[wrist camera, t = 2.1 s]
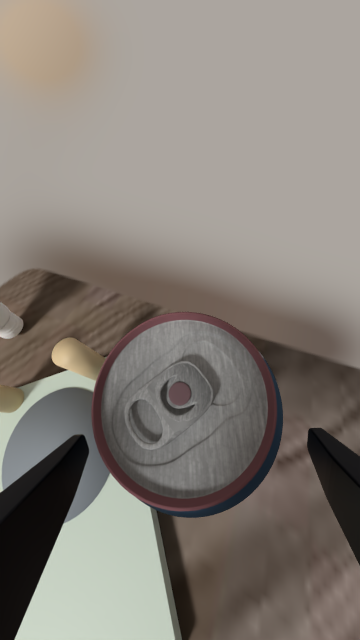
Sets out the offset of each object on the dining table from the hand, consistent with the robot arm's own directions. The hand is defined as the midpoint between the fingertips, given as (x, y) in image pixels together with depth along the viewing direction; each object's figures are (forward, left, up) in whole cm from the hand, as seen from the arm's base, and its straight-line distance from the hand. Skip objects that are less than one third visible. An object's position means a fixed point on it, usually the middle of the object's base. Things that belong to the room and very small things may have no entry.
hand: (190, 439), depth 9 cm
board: (-1, +11, -9) cm, 14 cm away
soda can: (+1, 0, -9) cm, 9 cm away
